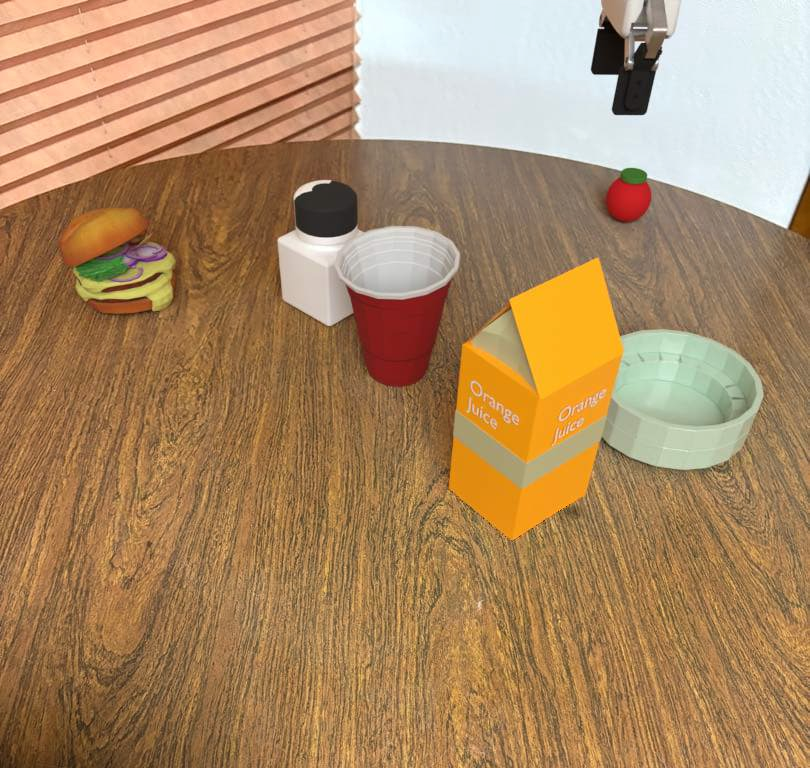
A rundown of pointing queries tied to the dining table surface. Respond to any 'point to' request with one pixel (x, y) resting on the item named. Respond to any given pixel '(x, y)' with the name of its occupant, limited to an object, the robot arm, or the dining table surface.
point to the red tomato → (629, 195)
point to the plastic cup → (397, 297)
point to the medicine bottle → (318, 250)
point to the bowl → (681, 400)
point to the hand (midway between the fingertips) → (616, 93)
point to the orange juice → (535, 401)
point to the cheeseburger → (118, 262)
